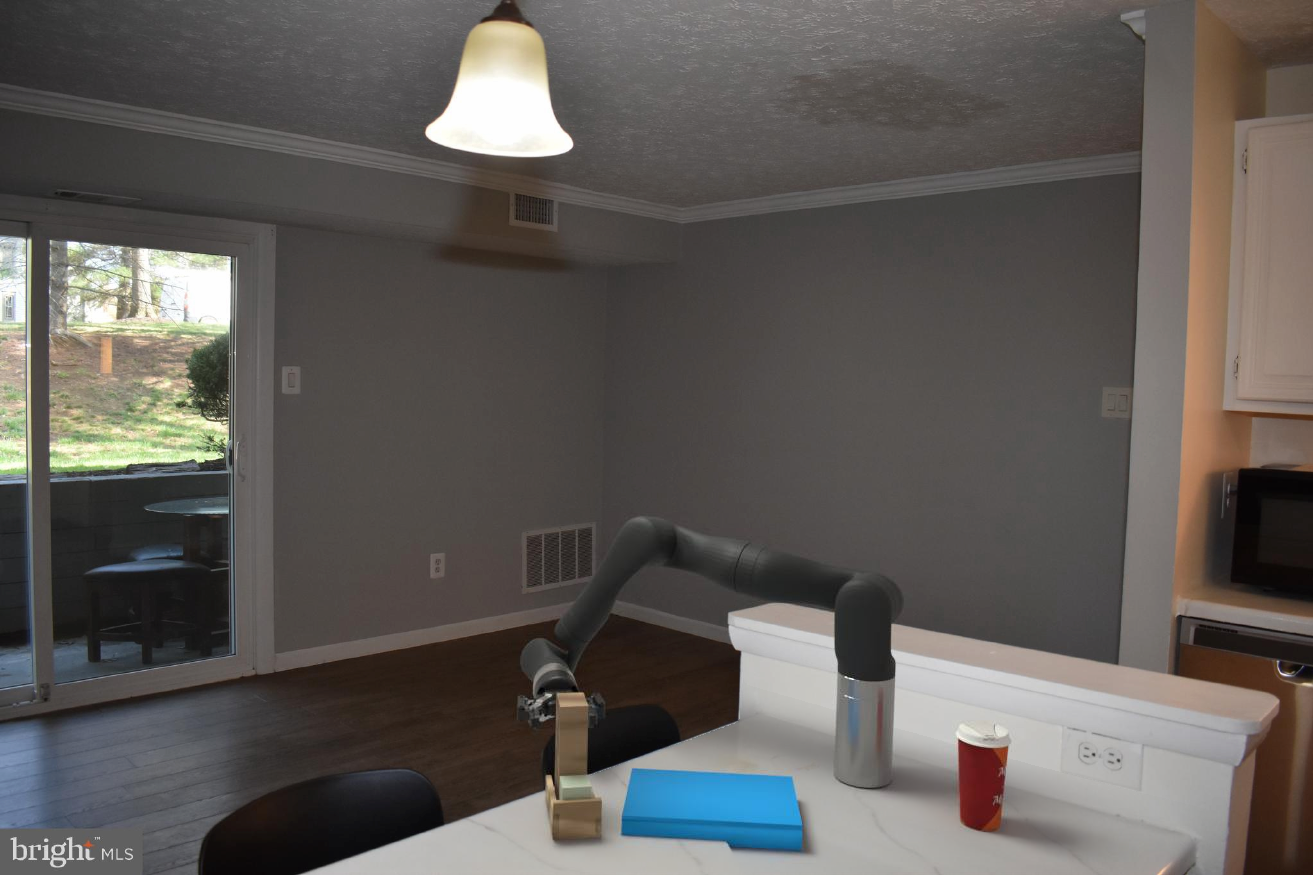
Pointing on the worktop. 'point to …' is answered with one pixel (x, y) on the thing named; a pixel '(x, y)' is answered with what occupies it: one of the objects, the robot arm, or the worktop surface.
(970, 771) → the paper cup
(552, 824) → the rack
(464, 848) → the worktop surface
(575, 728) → the tall wooden block
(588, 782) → the offcut upper
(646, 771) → the book
